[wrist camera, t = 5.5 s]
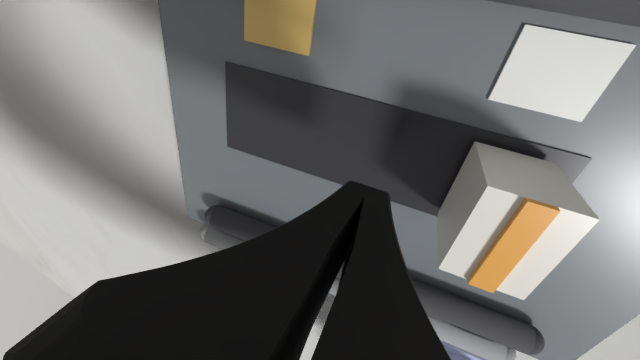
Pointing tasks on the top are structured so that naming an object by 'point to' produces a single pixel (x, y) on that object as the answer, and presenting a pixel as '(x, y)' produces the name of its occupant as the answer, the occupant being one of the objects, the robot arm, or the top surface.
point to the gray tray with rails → (441, 307)
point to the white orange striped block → (509, 221)
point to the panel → (417, 127)
